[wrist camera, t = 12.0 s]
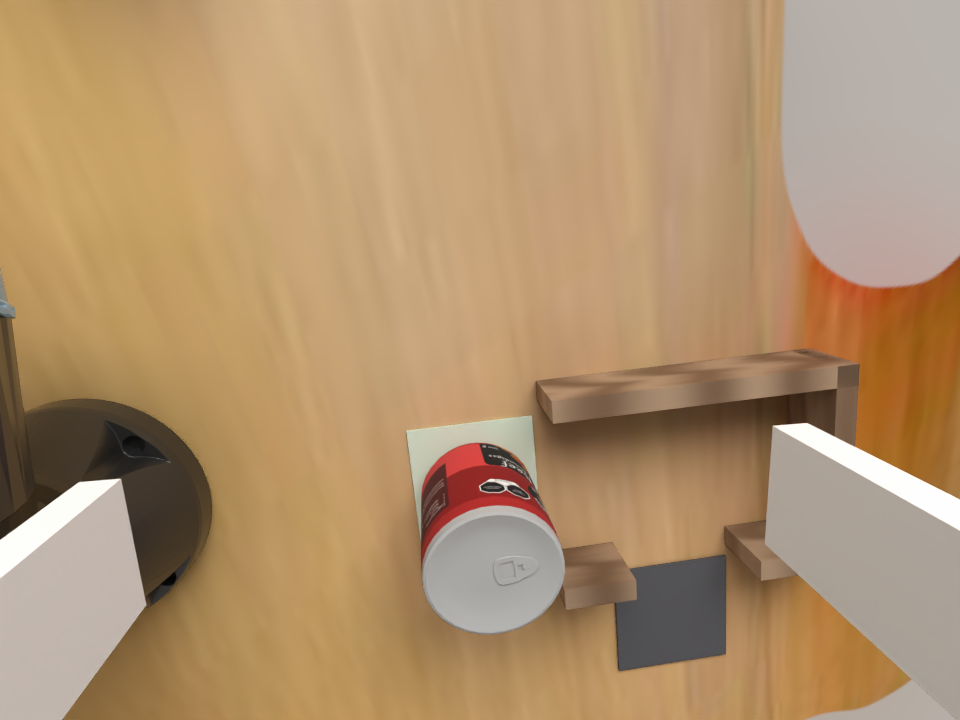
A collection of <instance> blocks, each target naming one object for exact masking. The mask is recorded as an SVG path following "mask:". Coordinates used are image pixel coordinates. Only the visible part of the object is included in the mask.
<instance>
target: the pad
mask: <svg viewBox="0 0 960 720" xmlns="http://www.w3.org/2000/svg"><path fill="white" fill-rule="evenodd" d="M406 433H407V440H408V448H409V456H410V463H411V471H412V479H413V486H414V494H415V502H416V509H417V517H418V525H419V532H420V540H421V494H422V486H423V483H424V480H425V477H426V475H427V473H428V472H429V470H430V468H431V467H432V466H433V465H434V464H435V463H436V461H437V460H438V459H439V458H440V457H441V456H443V455H444V454H445V453H447V452H448V451H450V450H452V449H454V448H456V447H458V446H461V445H465V444H469V443H489V444H493V445H497V446H499V447H502V448H504V449H506V450H508V451H510V452H511V453H513V454H514V455H515V456H517V457H518V458H519V459H520V461H521V462H522V463H523V464H524V465H525V467H526V469H527V471H528V473H529V475H530V477H531V479H532V481H533V483H534V486H535V488H536V490H537V492H538V486H537V473H536V460H535V448H534V435H533V422H532V415H530V416H522V417H514V418H506V419H497V420H489V421H481V422H473V423H465V424H457V425H449V426H441V427H433V428H424V429H416V430H408V431H406Z"/></svg>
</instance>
